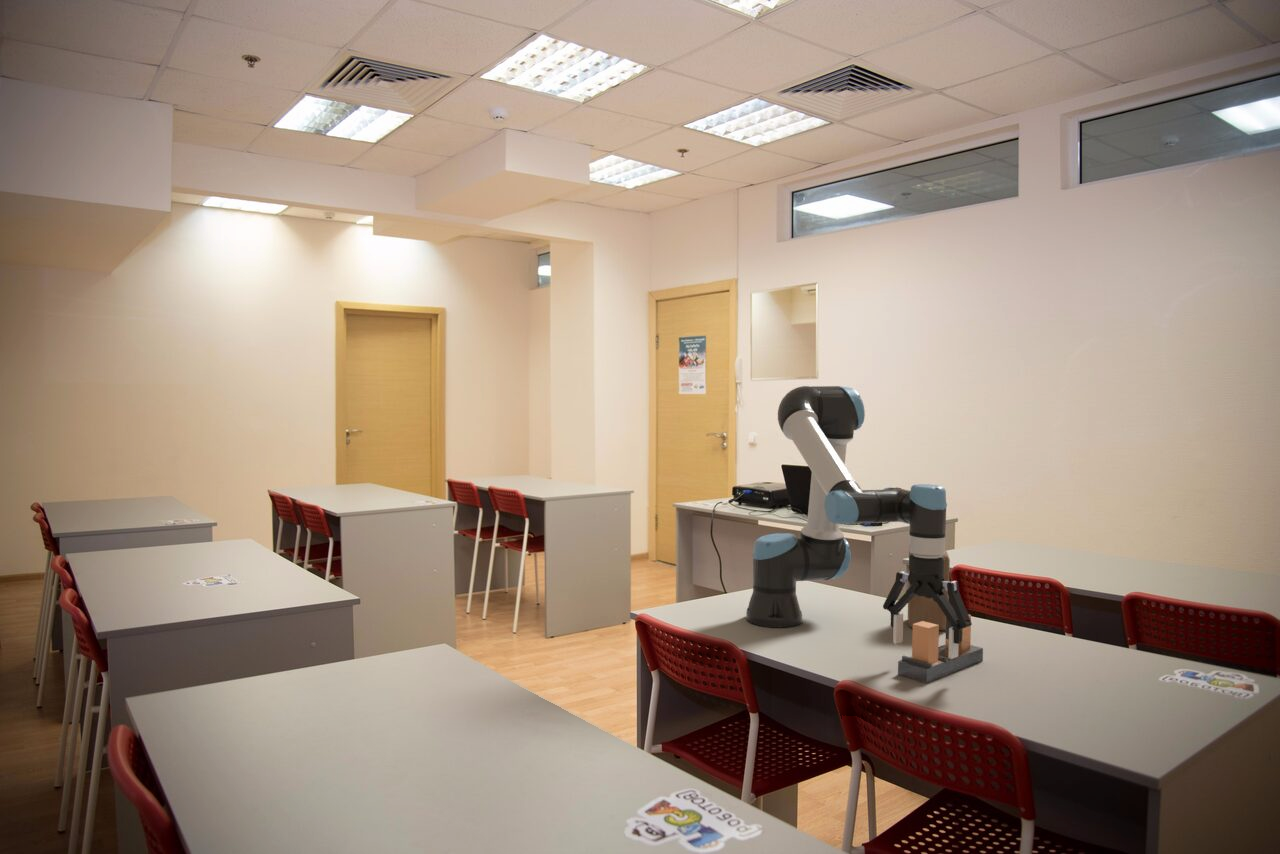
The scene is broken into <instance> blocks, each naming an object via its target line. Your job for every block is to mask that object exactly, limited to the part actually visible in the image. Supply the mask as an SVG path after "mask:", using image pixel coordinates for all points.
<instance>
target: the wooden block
mask: <svg viewBox="0 0 1280 854" xmlns="http://www.w3.org/2000/svg"><path fill="white" fill-rule="evenodd" d="M911 554H912V553H910V552H909V551H908V557H909V556H910V555H911ZM942 556H943V557H944V558H945V572H944V580H945V581H949V582H950V564H951V562H950V561H951V560H950V556H949V554H948V551H947V550H945V554H944V555H942ZM909 573H910V570H909V569H908V574H909ZM907 582H908V585H907V587H908V588H907V590H908V589H909V588H910V586H911V585H910V583H909V581H908V580H907ZM945 589H946V588H945V587H944V588H943V589H942V590H943V591H944V593H945V594H946V596H947V599H948V601H949V602H950V598H949V595H948V591H946V590H945ZM938 596H939V594H938ZM921 621H924V622H929V623H933V624H937V625H939V631H943V632H944V631H945V632H946V616H945V614H944V613H943V611H942V610H941V608H940V607H939V605H938V604H937V602H935V601H934V600H933V598H926V597H924V596H917V594H916V595H915V596H914V597H913V598H912V599H911V600H910V601H909V602H908V603H907V624H908V626H909V627H910V628H912V629H913V624H915V623H918V622H921Z"/></svg>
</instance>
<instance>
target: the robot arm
mask: <svg viewBox="0 0 1280 854" xmlns="http://www.w3.org/2000/svg"><path fill="white" fill-rule="evenodd" d="M865 415H866V414H865V405H864V402H863V399H862V398H861V395H860V393H859V392H858V391H857V390H856V389H854V388H852V387H849V386H841V385H831V386H830V385H827V386H824V385H819V386H816V385H815V386H810V385H802V386H798V387H795V388H792V389H791V390H790V391H788V392H787V393H786V394H785V395H784V396H783V397H782V399H781V401H780V403H779V406H778V409H777V423H778V425H779V428H780V430H781V432H782V433H783V435H784V436H785V438H787V439H788V440H791V441H792V442H793V443H794V445H795V447H796V448H797V450H798V451H799V453H800V455H801V456H802V458H803V460H804V461H805V463H806V465H807V466H808V468H809V469H810V471H811V474H810V475H811V477H810V489H809V499H808V508H807V509H808V510H807V511H808V512H807V523H806V525H805V526H803V527H802V528H801V529H800V537H799V538H797V536H796V535H795V534H793V533H788V532H783V533H782V532H781V533H780V532H779V533H778V532H776V533H771V534H770V533H769V534H765V535H763V536H760V537H758V538H757V539H756V540H755V541H754V543H753V552H752V558H753V559H752V561H753V563H752V565H753V566H752V567H753V569H752V571H753V572H752V581H753V582H752V594H751V596H750V599H749V603H748V606H747V608H746V616H745V618H746V619H745V620H746V621H747V622H748V623H751V624H753V625H756V626H760V627H765V628H767V627H768V628H790V627H796V626H799V625H801V624H802V623H803V612H802V610H801V608H800V607H801V606H800V604H799V600H798V596H797V590H796V589H797V582H803V581H804V582H807V581H809V582H810V581H830V580H833V579H838V578H842V576H843V575H845V574H846V572H847V571H848V569H849V567H850V563H851V558H852V557H851V550H850V543H849V542H848V541H847V539H846V538H845V537H844V536H845V535H844V533H843V531H842V530H841V529H840V525H842V524H843V525H854V524H868V523H870V524H871V523H875V524H876V523H877V524H878V523H904V524H908V525H909V537H908V539H909V540H908V541H909V542H908V543H909V545H908V553H909V552H910V553H912V554H911V555H910V556H909V555H908V571H909V570H910V573H909V572H907V570H906V571H905V570H902V571H898V572H896V573H895V574H896V575H895V581H894V583H893V585H892V586H891V589H890V590H889V593H888V595H887V597H886V599H885V600H884V603H883V605H882V608H883V609H884V610H886V611H888V612H889V613H890V627H891V628H893V631H892V632H893V633H892V635H893V636H892V638H893V639H892V642H893V643H892V644H895V645H897V644H900V643H903V641H904V637H903V636H904V613H902V610H903V609H904V607H906V606H907V605H908V602H909V601H910V600H911V599H912V598H913V597H914V596H915V595H916V594H917V596H924V597H926V598H933V600H934V601H935V602H937V604H938V605H939V607H940V608H941V610H942V611H943V613H944V614H945V616H946V617H947V619H948V621H949V622H950V624H951V625H952V627H951V628H949V654H948V658H950V659H953V658H956V657H958V645H959V643H961V642H962V629H963V628H966V627H969V626H971V627H972V625H973V624H972V619H971V620H970V618H969V615H970V614H969V613H968V611H967V609H966V606H965V604H964V601H963V599H962V596H961V594H960V590H959V581H957V580H952V581H950V580H949V581H945V580H944V572H945V558H944V557H943V556H942V555H944V554H945V551H946V529H947V528H946V526H947V525H946V524H947V523H946V522H947V506H948V503H947V493H946V492H947V491H946V488H945V487H944V486H942V485H940V484H939V485H938V484H930V483H929V484H927V483H926V484H925V483H923V484H922V483H920V484H919V483H917V484H913V485H911V486H910V490H909V489H904V488H902V487H898V486H897V487H891V486H890V487H886V488H883V489H862V488H861V486H860V485H859V484H858V483H857V481H856V480H855V478H854V477H853V475H852V473H850V470H849V469H848V468H847V466H846V457H847V456H846V455H847V445H848V443H850V442H851V441H852V440H853V439H854V432H855V431H857V430H859V429H861V427H862V425H863V423H864V422H865ZM908 581H909V583H910V585H911V586H910V588H909V589H908V588H907V590H905V593H904V594H903V595H902V596H901V597H900V595H901V592H902V590H903V588H904V586H905V585H906V583H907V582H908ZM944 587H945V588H946V589H945V590H946V591H948V595H949V601H948V599H947V596H946V594H945V593H944V591H943V590H942V589H943V588H944ZM938 594H939V596H938ZM899 597H900V598H899ZM898 598H899V599H898ZM968 614H969V615H968Z"/></svg>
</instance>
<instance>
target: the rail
mask: <svg viewBox="0 0 1280 854" xmlns="http://www.w3.org/2000/svg"><path fill="white" fill-rule="evenodd" d="M968 615H969V618H970V620H971V621H972V614H969V613H968ZM951 627H952V625H951V624H950V622H949V621H948V619H947V617H946V630H945V644H943V645H939V646H938V661H936V662H933V663H929V662H925V661H921V660H918V659H914V658H912V655H910V656H907V655H902V656H901V660H900V659H899V660H898V661H897V675H899V676H902V677H905V678H908V679H911V680H915V681H918V682H922V683H925V684H928V683H931V682H933V681H936V680H938V679H941V678H944V677H946V676H947V675H951V674H953V673H956V672H959V671H961V670H964V669H966V668H968V667H970V666H971V667H972V665H975V664H978V663H981V662H983V661H984V648H983V647H981V646H975V645H973V644H971V636H972V635H971V634H972V633H971V632H972V625H971V626H969V627H966V628H963V629H962V642H961V643H959V645H958V657H956V658H953V659H950V658H948V654H949V628H951Z"/></svg>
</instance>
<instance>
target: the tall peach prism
mask: <svg viewBox="0 0 1280 854" xmlns="http://www.w3.org/2000/svg"><path fill="white" fill-rule="evenodd" d="M939 633H940V630H939V625H937V624H933V623H929V622H924V621H921V622H918V623H915V624H913V628H912V635H911V636H912V639H911V640H912V643H911V644H912V645H911V646H912V648H911V651H912V652H911V656H912V658H914V659H918V660H921V661H925V662H929V663H933V662H936V661H938V647H940V645H939V641H940V640H939V639H940V637H939V635H940V634H939Z"/></svg>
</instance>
